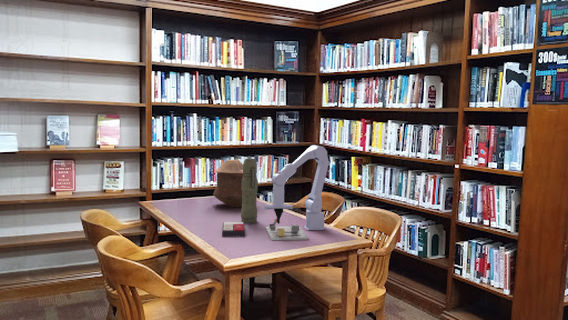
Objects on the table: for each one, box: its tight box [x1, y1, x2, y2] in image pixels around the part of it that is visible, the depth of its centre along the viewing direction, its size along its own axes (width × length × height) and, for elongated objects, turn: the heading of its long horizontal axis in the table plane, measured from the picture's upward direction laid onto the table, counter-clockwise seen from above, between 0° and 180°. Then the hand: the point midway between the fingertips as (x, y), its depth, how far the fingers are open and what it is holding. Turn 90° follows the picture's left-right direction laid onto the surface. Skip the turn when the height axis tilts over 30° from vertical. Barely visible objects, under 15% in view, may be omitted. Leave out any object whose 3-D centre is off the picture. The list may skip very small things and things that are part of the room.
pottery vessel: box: [212, 159, 243, 208], centre depth 296 cm, size 26×26×30 cm
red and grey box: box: [221, 221, 246, 237], centre depth 232 cm, size 11×4×15 cm
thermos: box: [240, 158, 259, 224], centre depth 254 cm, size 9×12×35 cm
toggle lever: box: [272, 218, 278, 226], centre depth 237 cm, size 2×3×5 cm, turn 11°
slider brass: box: [277, 228, 285, 236], centre depth 222 cm, size 3×3×3 cm
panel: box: [265, 223, 309, 241], centre depth 231 cm, size 18×22×3 cm
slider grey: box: [290, 224, 299, 232], centre depth 231 cm, size 3×3×3 cm
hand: (278, 223), depth 237 cm, fingers closed, pressing on toggle lever
